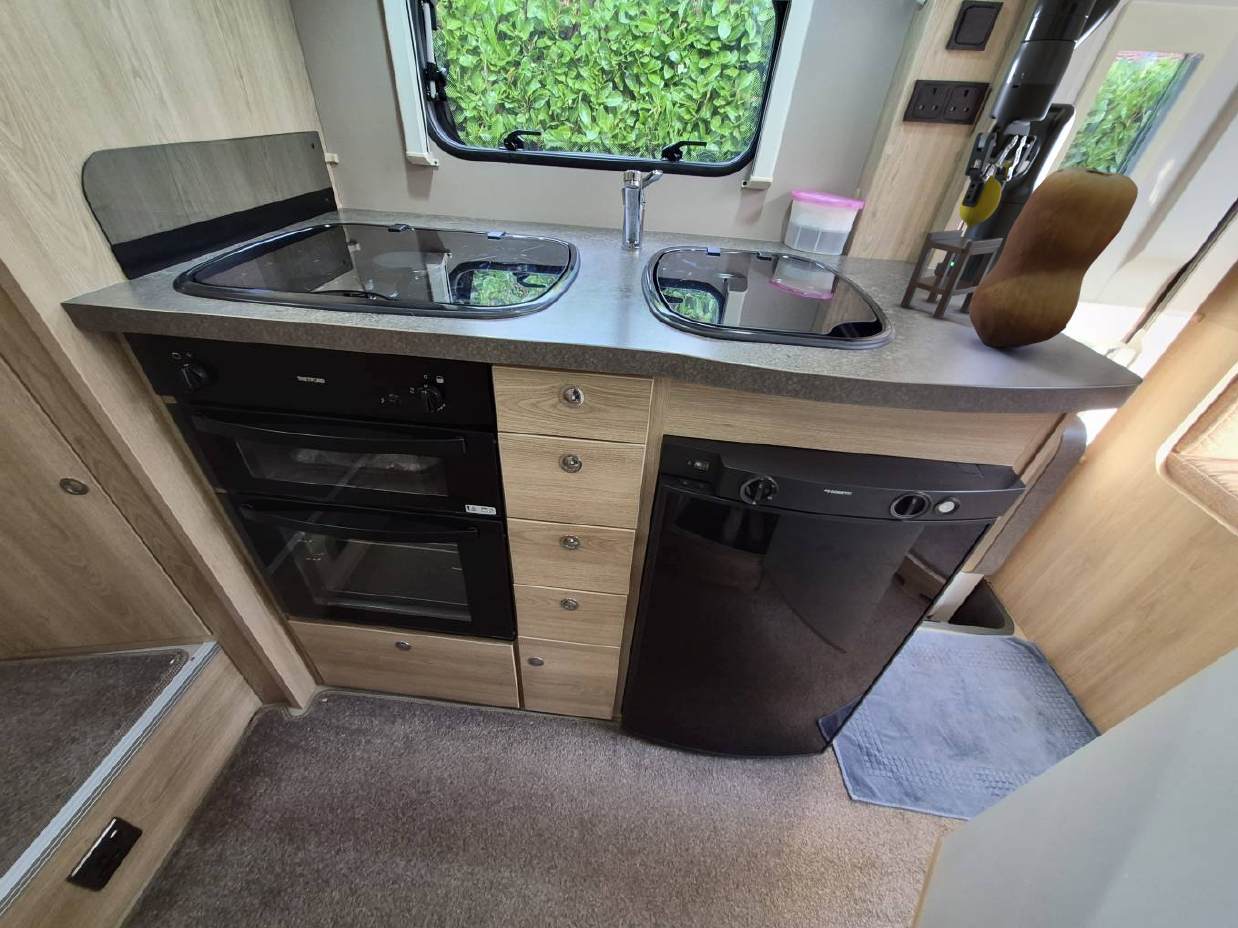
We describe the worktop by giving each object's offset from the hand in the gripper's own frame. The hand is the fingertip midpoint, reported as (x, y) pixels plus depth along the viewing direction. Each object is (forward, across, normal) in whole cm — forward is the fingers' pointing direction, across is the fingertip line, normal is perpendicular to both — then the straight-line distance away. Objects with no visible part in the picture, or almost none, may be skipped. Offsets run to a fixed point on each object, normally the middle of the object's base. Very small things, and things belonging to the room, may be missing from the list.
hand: (978, 205), depth 84 cm
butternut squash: (+18, +8, +16) cm, 25 cm away
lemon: (+4, 0, 0) cm, 4 cm away
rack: (+18, 0, 0) cm, 18 cm away
